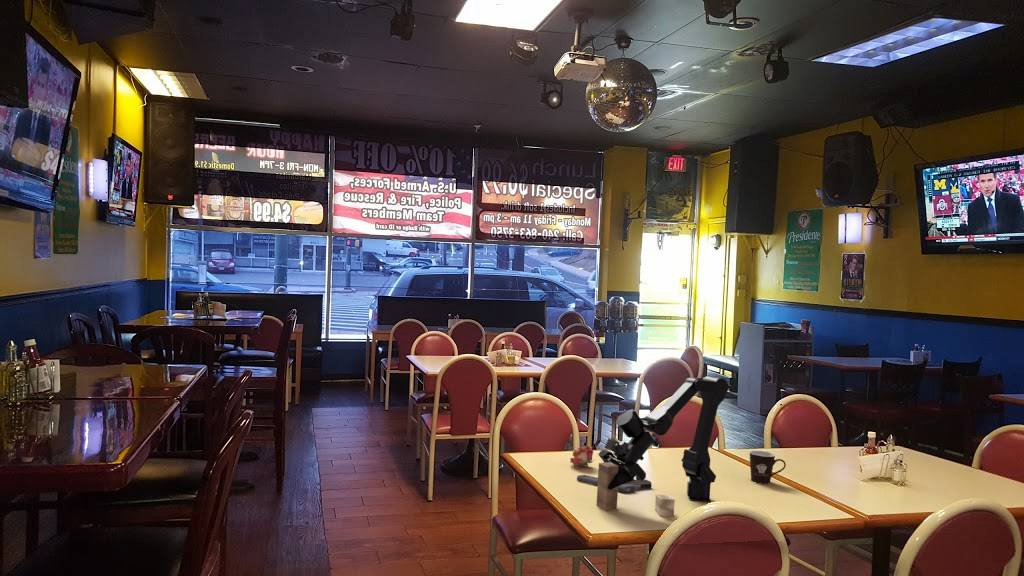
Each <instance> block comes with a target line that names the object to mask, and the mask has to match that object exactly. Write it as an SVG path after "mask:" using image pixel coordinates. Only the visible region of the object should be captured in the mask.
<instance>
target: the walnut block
mask: <svg viewBox="0 0 1024 576" xmlns="http://www.w3.org/2000/svg"><path fill="white" fill-rule="evenodd" d="M618 468H619V466H617V465H615V464H613V463H611V462H605V463H604V462H599V463H598V469H597V470H598V472H597V478H598V486H596V487H597V489H596V491H597V492H596V506H597V507H598V508H599V509H601V510H603V511H606V512H607V511H616V510H618V509H617V508H618V495H619V494H618V493H619V491H618V487H615V488H613V489H611V490H610V489H608V486H609V484H610V482H611V481H612V480H613V478H614V477H615V476H616V474H617V473H618Z"/></svg>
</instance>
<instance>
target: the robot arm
mask: <svg viewBox="0 0 1024 576" xmlns="http://www.w3.org/2000/svg"><path fill="white" fill-rule="evenodd" d="M728 391H729V383H728V382H727V380H726V379H725V378H722V377H718V376H712V375H706V376H705V377H688V378H685V381H684V383H683V384H682V385H680V387H679V388H678V389H677V390H676V391H675V392H673V393H674V394H672V396H671V397H670V398H669V399H668V400H667V401H666V402H665V403H664V404H662V405H661V407H658V408H656V409H653V410H652V411H651V412H649V413H648V414H647V415H645V417H640V416H639V415H638V413H637V412H636V410H634V409H633V408H632V409H631V408H630V409H629V410H628V411H625V412H623V413H621V414H620V415H619V416H617V418H616V421H615V423H616V425H617V426H618V427H619V429H620V430H621V431H622V432H623V433H624V434H625V436H626V437H627V438H629V439H630V440H629V441H628V442H626V441H624V440H621V441H616V440H615V439H611V438H608V439H607V441H606V444H605V446H604V449H601V450H600V452H598V454H597V455H598V457H600V460H602V461H603V463H605V462H611V463H613V464H615V465H617V466H619V468H618V473H617V474H616V476H615V477H614V478H613V480H612V481H611V482H610V484H609V486H608V489H610V490H611V489H613V488H615V487H618V486H620V485H622V484H625V483H628V482H631V481H635V480H638V481H640V482H643V481H644V479H645V480H646V478H647V473H646V471H645V470H644V469H643V467H642V466H640V464H639V463H638V461H639V460H640V461H643V460H644V459H645V457H644V455H645V453H646V452H647V451H648V450H649V448H651V446H652V447H654V448H659V438H657V437H655V436H653V435H657V436H661V437H662V436H665V435H666V434H667V433H668V432H669V430H670V428H671V427H672V426H673V423H674V419H675V417H676V416H677V415H678V414H679V412H680V411H681V410H682V409H683V408H684V407H685V406H686V405H687V404H688V403H689V402H690V401H691V400H692V399H693V398H694V397H695V395H696V394H698V392H699V393H700V397H701V400H702V403H701V407H700V411H699V415H698V420H697V425H696V428H695V433H694V436H693V443H692V445H691V446H690V447H689V449H686V448H685V449H684V450H683V456H682V459H681V462H682V464H681V465H682V466H681V467H682V468H683V470H684V472H685V473H684V474H685V477H688V478H689V481H687V484H686V495H687V497H688V498H689V500H690V501H698V502H711V500H712V499H711V483H715V481H716V478H717V475H716V474H715V472H714V471H713V470H712V469H711V456H710V453H709V447H710V442H711V438H712V434H713V429H714V425H715V421H716V418H717V412H718V408H719V405H721V403H723V402H724V400H725V398H726V397H727V393H728ZM612 452H613V453H612Z"/></svg>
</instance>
